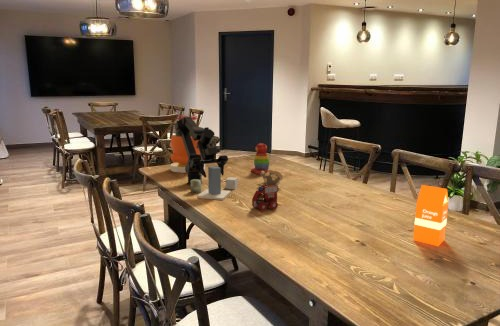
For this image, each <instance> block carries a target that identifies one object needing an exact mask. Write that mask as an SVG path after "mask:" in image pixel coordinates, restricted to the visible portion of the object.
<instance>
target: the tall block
mask: <svg viewBox="0 0 500 326" xmlns="http://www.w3.org/2000/svg"><path fill="white" fill-rule="evenodd" d="M207 174H208V175H207V176H208V177H207V178H208V180H207V181H208V183H207V184H208V185H207V189H208V191H209V193H210V194H211V195H216V194H221V190H222V189H221V188H222V186H221V185H222V181H221V180H222V178H221V176H222V174H221V168H220V167H218V166H217V165H214V166H208V167H207Z"/></svg>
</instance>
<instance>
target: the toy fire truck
mask: <svg viewBox="0 0 500 326" xmlns="http://www.w3.org/2000/svg"><path fill="white" fill-rule="evenodd" d="M257 189H258V190H256V191H255V192H254V194H253V195H252V198H251V206H252V208H255V209H256V208H258V210H260V212H264V211H266V210H267V209H268V208H269V209H270V210H276V209H277V208H278V206H279V204H278V191H279V185H271V186H267V185H266V186H262V185H261V186H258V188H257Z"/></svg>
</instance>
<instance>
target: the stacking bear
mask: <svg viewBox="0 0 500 326" xmlns="http://www.w3.org/2000/svg"><path fill="white" fill-rule="evenodd" d="M267 151H268V146H267V144H265V143H261V142H259V143H258V144H257V145H256V146H255V152H256V153H255V155H254V158H253V165H254V167H253V168H251V169H250V172H251V173H255V175H260V173H261V171H264V172H265V173H268V171H269V170H270V169H269V167H270V158H269V154H268V153H267ZM260 176H261V175H260Z"/></svg>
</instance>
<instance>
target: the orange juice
mask: <svg viewBox="0 0 500 326" xmlns="http://www.w3.org/2000/svg"><path fill="white" fill-rule="evenodd" d="M448 210H449V196H448V189H447V188H445V187H443V188H442V187H437V186H431V185H425V184H421V187H420V190H419V192H418V196H417V200H416V209H415V215H414V217H415V218H414V227H413V239H412V241H414V242H415V241H416V242H420V243H423V244H428V245H431V246H435V247H440V245H441V244H443V242H444V241H445V239H446V227H447V221H448Z"/></svg>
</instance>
